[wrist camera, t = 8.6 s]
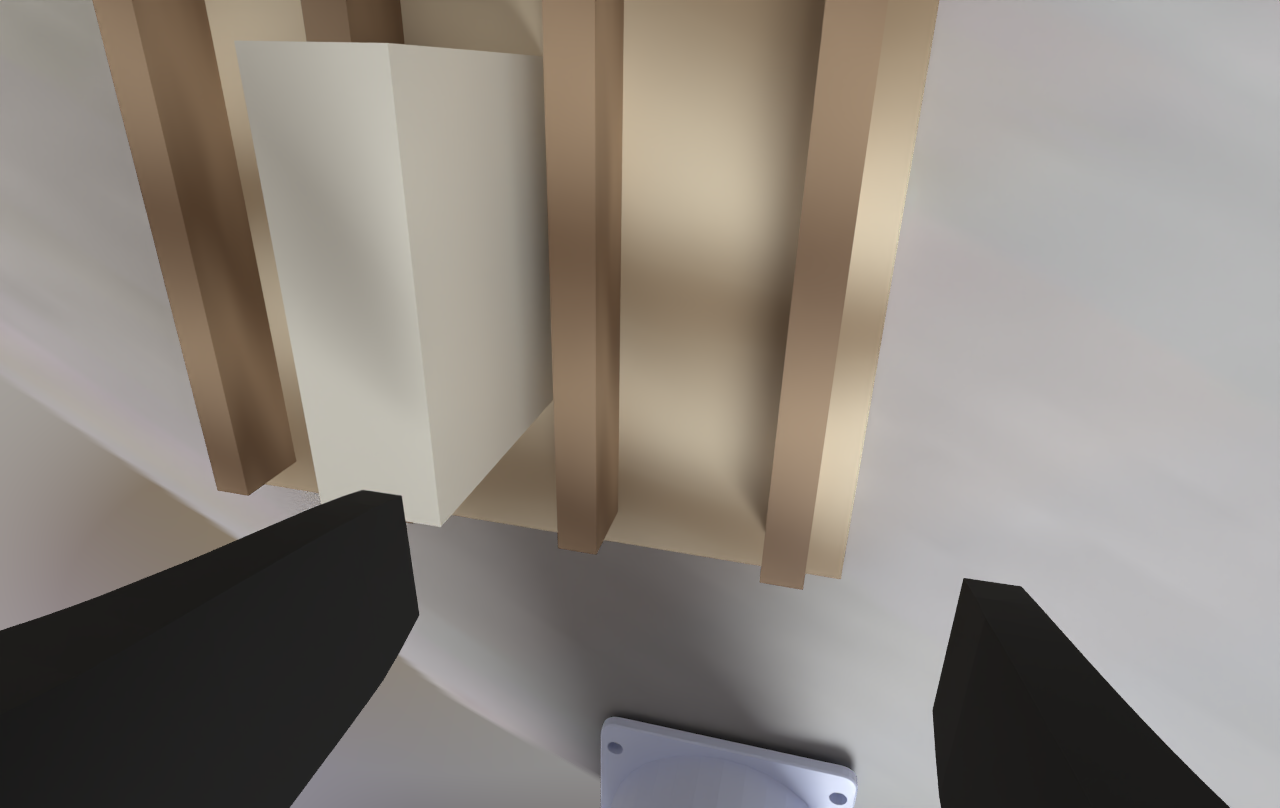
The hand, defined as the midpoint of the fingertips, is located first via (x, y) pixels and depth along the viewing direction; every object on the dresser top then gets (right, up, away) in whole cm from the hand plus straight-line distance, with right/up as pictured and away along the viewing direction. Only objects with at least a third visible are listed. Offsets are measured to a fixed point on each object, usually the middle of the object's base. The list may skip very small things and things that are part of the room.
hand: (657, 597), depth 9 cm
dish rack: (-3, +7, +9) cm, 11 cm away
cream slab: (-4, +6, +8) cm, 11 cm away
